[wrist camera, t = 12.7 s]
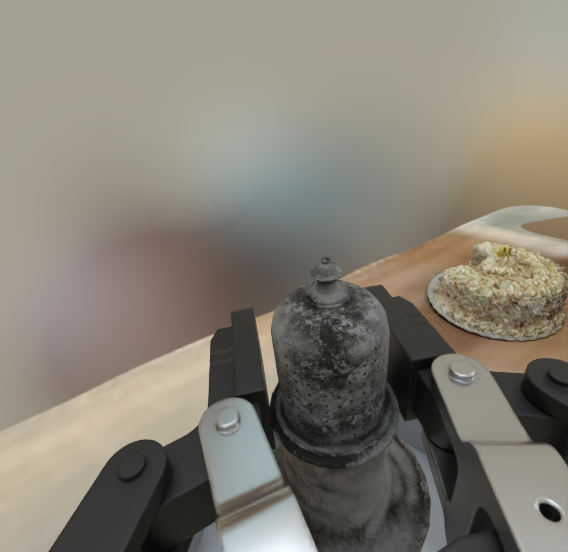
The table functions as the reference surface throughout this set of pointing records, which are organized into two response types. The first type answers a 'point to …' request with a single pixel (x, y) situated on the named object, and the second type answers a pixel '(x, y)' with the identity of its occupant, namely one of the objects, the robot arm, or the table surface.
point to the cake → (503, 293)
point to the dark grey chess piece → (343, 421)
